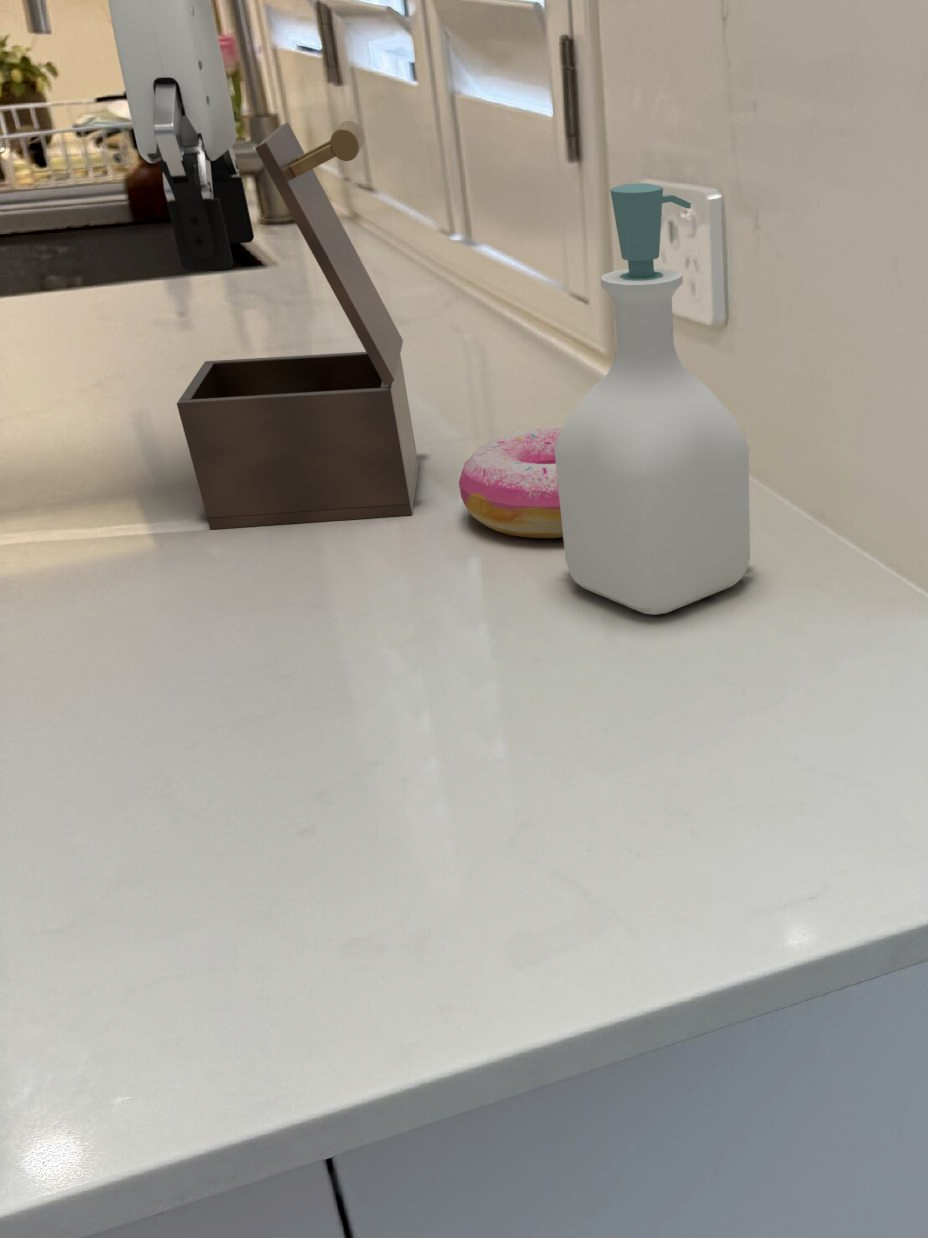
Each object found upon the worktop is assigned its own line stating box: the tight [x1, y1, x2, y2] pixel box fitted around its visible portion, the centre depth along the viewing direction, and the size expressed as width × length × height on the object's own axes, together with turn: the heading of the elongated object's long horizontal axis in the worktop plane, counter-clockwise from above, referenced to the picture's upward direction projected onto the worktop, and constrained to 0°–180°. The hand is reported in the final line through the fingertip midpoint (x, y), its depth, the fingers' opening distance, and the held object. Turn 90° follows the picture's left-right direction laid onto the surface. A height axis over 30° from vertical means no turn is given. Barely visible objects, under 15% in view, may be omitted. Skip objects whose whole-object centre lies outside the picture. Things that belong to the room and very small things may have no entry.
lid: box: [254, 120, 404, 385], centre depth 91 cm, size 15×12×6 cm
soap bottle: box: [555, 182, 751, 616], centre depth 79 cm, size 10×10×23 cm
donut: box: [458, 426, 563, 539], centre depth 95 cm, size 14×13×5 cm
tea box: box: [176, 351, 420, 530], centre depth 99 cm, size 15×12×9 cm
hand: (220, 255), depth 91 cm, fingers open, 9 cm apart
